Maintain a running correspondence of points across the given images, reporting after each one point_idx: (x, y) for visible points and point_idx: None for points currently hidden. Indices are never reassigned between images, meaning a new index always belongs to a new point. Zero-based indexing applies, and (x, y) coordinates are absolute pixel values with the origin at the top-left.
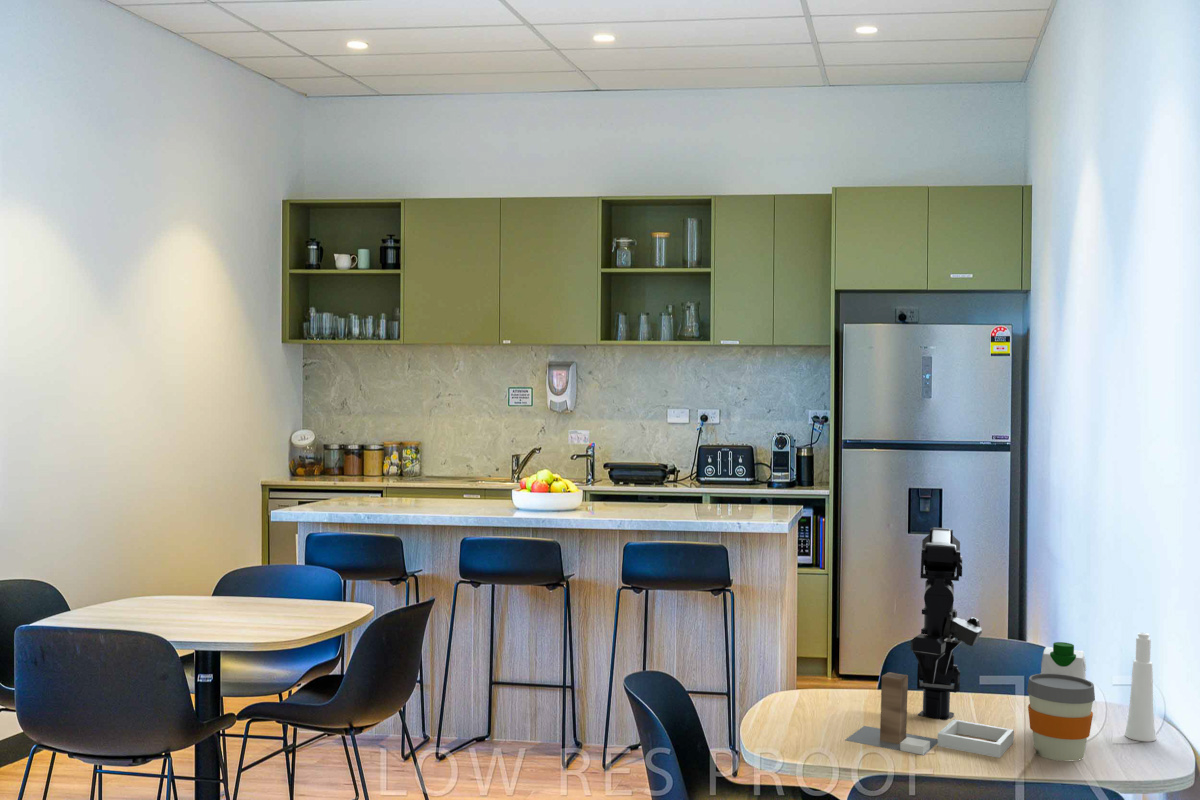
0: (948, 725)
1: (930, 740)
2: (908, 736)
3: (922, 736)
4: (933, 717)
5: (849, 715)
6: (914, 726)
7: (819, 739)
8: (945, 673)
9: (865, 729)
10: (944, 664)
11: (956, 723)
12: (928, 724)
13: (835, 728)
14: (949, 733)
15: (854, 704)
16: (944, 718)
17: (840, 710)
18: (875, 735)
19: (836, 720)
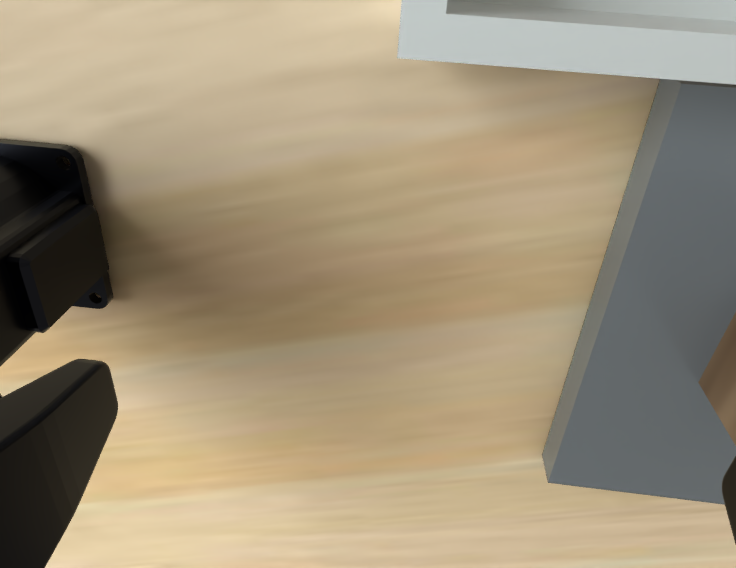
0: (626, 62)
1: (726, 149)
2: (674, 285)
3: (639, 213)
4: (99, 227)
5: (304, 522)
6: (288, 286)
7: (722, 565)
8: (93, 371)
9: (616, 472)
10: (3, 499)
11: (479, 14)
12: (198, 230)
13: (527, 540)
14: (702, 28)
15: (137, 524)
16: (58, 167)
17: (258, 550)
18: (717, 426)
19: (407, 548)
